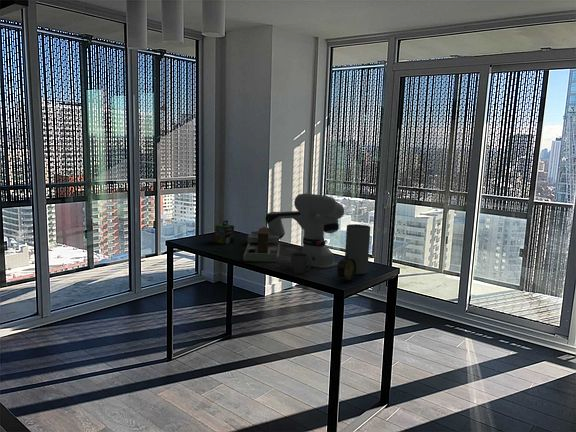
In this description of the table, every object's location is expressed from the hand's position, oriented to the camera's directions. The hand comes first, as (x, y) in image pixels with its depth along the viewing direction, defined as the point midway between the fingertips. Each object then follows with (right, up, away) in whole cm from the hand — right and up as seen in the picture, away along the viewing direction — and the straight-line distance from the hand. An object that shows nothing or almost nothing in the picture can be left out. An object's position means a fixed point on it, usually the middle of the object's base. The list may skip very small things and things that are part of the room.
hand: (262, 241), depth 303 cm
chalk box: (-27, -2, +18) cm, 32 cm away
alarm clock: (+45, -17, -58) cm, 75 cm away
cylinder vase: (+52, -14, -40) cm, 68 cm away
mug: (+23, -14, -46) cm, 53 cm away
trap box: (0, -7, -8) cm, 11 cm away
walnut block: (0, -5, -6) cm, 8 cm away
